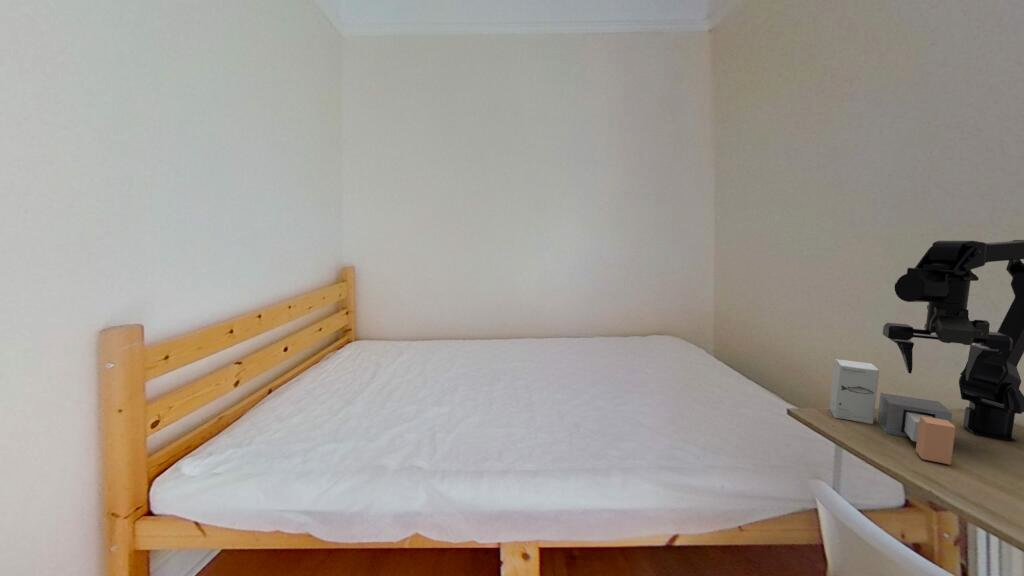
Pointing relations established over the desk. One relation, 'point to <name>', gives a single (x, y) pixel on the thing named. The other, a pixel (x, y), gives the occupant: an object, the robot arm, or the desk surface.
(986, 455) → the desk surface
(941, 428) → the cover
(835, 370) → the supplement box
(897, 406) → the block
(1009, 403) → the robot arm
